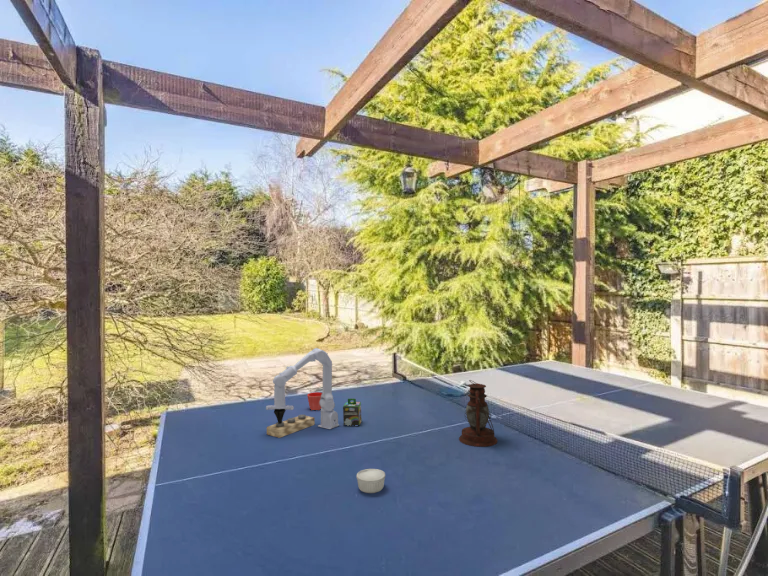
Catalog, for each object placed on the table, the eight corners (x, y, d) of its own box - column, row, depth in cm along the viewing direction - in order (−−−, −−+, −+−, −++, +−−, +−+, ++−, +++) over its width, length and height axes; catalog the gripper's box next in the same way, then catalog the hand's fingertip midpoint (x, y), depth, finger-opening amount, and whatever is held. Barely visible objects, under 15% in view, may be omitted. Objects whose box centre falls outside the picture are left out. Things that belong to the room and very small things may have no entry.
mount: (302, 421, 250) (302, 414, 250) (314, 424, 244) (314, 417, 244) (266, 434, 228) (266, 426, 229) (279, 437, 223) (279, 430, 223)
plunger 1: (286, 431, 230) (286, 422, 230) (279, 434, 227) (279, 424, 227) (280, 430, 233) (280, 421, 233) (274, 432, 229) (274, 423, 229)
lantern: (498, 448, 204) (497, 385, 204) (458, 445, 207) (457, 383, 208) (496, 434, 222) (495, 377, 222) (459, 432, 226) (458, 376, 226)
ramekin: (369, 479, 173) (369, 465, 173) (391, 486, 165) (391, 473, 165) (350, 489, 164) (350, 475, 164) (372, 497, 157) (372, 483, 157)
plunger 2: (297, 427, 237) (297, 418, 237) (291, 429, 233) (291, 420, 233) (291, 426, 239) (291, 417, 239) (285, 428, 236) (285, 419, 236)
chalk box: (361, 421, 248) (361, 396, 249) (359, 426, 239) (358, 400, 239) (346, 421, 249) (345, 395, 250) (343, 426, 240) (342, 400, 240)
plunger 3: (307, 423, 243) (307, 415, 243) (301, 425, 240) (301, 417, 240) (302, 422, 246) (301, 414, 246) (296, 424, 242) (296, 416, 242)
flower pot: (323, 411, 271) (323, 396, 271) (306, 411, 271) (305, 396, 271) (325, 406, 282) (325, 392, 282) (309, 407, 282) (309, 392, 282)
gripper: (295, 396, 233) (295, 420, 233) (269, 395, 234) (269, 420, 234) (291, 399, 226) (291, 425, 226) (264, 399, 227) (264, 424, 227)
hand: (280, 423), depth 230 cm, fingers closed, pressing on plunger 1
